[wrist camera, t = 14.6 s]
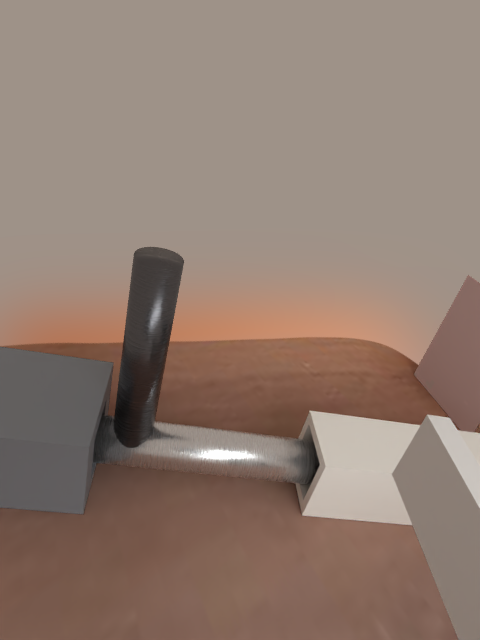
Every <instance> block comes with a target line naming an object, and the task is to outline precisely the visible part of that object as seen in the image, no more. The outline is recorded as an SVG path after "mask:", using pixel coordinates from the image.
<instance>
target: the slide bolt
mask: <svg viewBox="0 0 480 640" xmlns="http://www.w3.org/2000/svg"><path fill="white" fill-rule="evenodd" d="M183 264H184V260H183V258H182V257H181V256H180V255H178V254H177V253H175V252H173V251H170V250H167V249H163V248H158V247H144V248H140V249H138V250H136V251H135V253H134V259H133V267H132V276H131V284H130V292H129V300H128V309H127V317H126V325H125V335H124V342H123V350H122V359H121V367H120V375H119V384H118V392H117V400H116V409H115V416H108V415H102V416H101V420H100V423H99V427H98V430H97V434H96V437H95V443H94V454H93V463H102V464H112V465H122V466H131V467H141V468H151V469H161V470H171V471H180V472H190V473H200V474H210V475H220V476H229V477H239V478H249V479H259V480H269V481H278V482H288V483H298V484H308V485H311V483H312V481H313V479H314V477H315V475H316V472H317V470H318V468H319V466H320V463H319V459H318V456H317V452H316V448H315V445H314V441H313V440H307V439H299V438H290V437H282V436H274V435H265V434H257V433H249V432H241V431H232V430H224V429H216V428H207V427H199V426H191V425H183V424H174V423H166V422H158V421H155V417H156V412H157V406H158V401H159V395H160V390H161V384H162V379H163V373H164V368H165V362H166V357H167V352H168V346H169V341H170V335H171V330H172V324H173V319H174V313H175V308H176V302H177V297H178V292H179V286H180V281H181V275H182V270H183Z"/></svg>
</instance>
